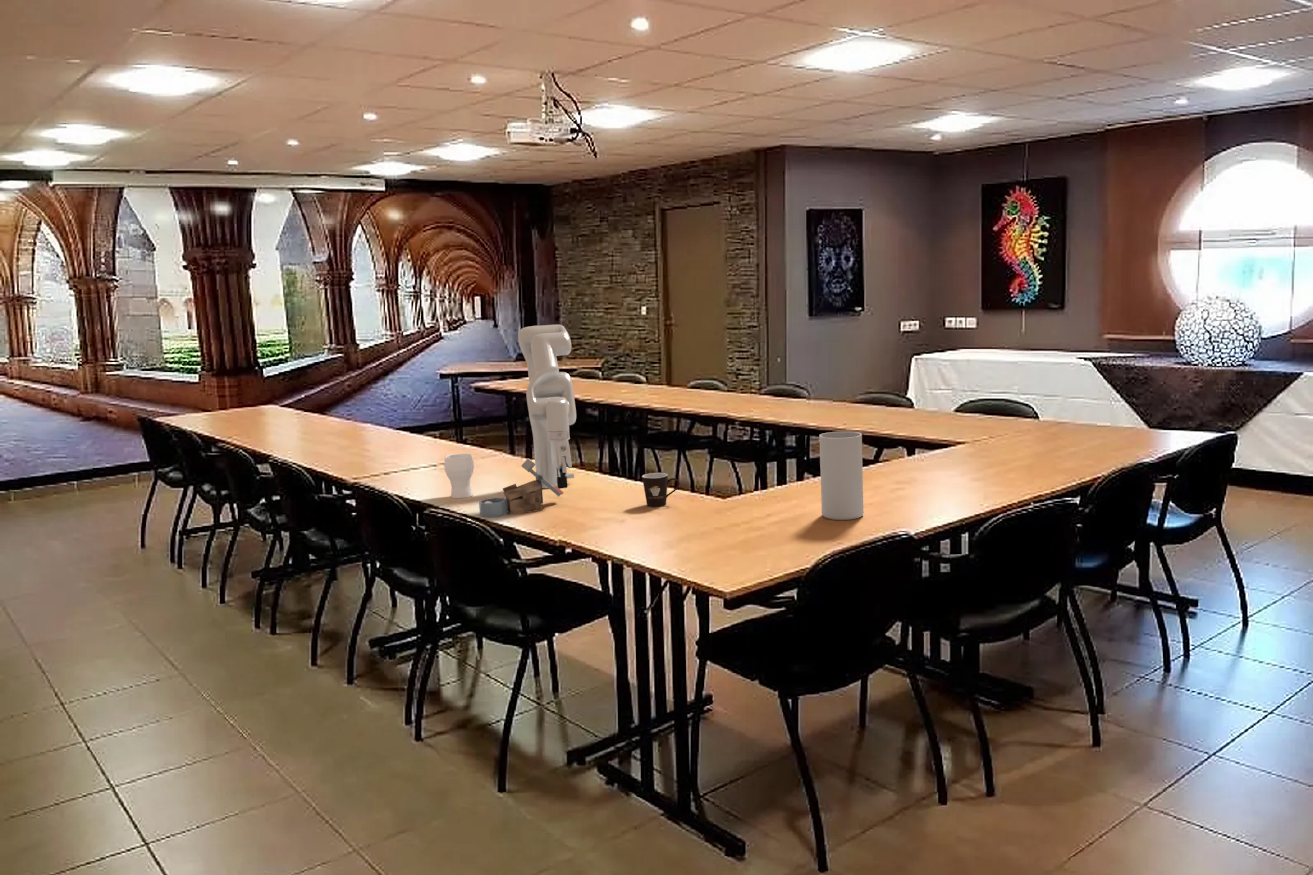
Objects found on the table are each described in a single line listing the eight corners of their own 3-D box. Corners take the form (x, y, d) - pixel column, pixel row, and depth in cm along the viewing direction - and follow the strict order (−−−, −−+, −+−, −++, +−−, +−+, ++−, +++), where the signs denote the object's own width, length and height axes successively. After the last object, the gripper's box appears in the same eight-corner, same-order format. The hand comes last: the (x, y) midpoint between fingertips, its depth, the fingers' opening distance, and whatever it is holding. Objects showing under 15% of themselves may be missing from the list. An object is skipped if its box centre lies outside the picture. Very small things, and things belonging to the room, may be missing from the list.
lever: (556, 496, 343) (563, 489, 344) (564, 502, 333) (571, 495, 333) (520, 465, 338) (527, 458, 338) (527, 470, 327) (533, 462, 328)
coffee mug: (639, 507, 327) (637, 477, 326) (651, 501, 335) (649, 472, 333) (670, 509, 322) (668, 479, 320) (681, 503, 329) (680, 473, 328)
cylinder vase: (860, 521, 292) (858, 438, 288) (818, 520, 296) (815, 438, 293) (866, 511, 304) (864, 431, 300) (826, 510, 308) (823, 431, 304)
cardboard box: (542, 502, 343) (540, 474, 341) (550, 509, 332) (548, 480, 330) (501, 507, 338) (499, 479, 337) (508, 514, 327) (506, 485, 326)
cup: (469, 499, 355) (466, 458, 353) (442, 499, 357) (438, 458, 355) (480, 492, 365) (477, 453, 363) (454, 493, 368) (450, 453, 365)
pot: (504, 509, 335) (503, 496, 334) (509, 514, 327) (508, 501, 326) (478, 512, 332) (477, 499, 331) (483, 518, 324) (481, 504, 323)
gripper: (574, 436, 333) (578, 490, 335) (564, 432, 347) (567, 483, 349) (553, 439, 330) (557, 492, 333) (543, 434, 344) (547, 485, 347)
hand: (562, 487), depth 341 cm, fingers closed
